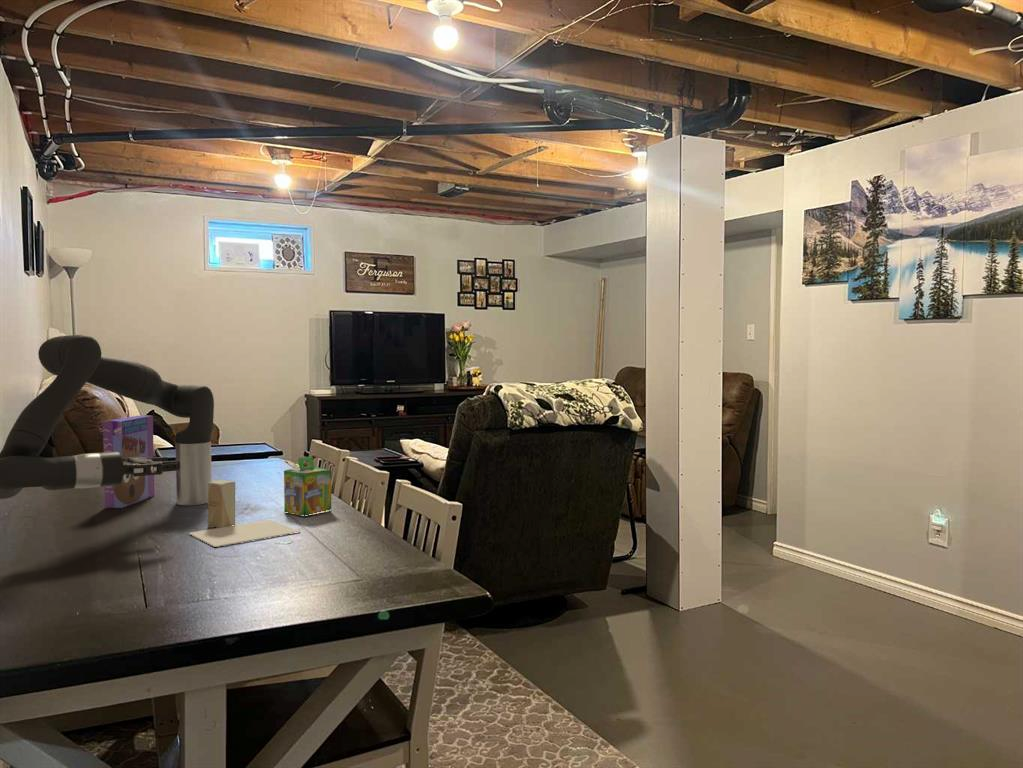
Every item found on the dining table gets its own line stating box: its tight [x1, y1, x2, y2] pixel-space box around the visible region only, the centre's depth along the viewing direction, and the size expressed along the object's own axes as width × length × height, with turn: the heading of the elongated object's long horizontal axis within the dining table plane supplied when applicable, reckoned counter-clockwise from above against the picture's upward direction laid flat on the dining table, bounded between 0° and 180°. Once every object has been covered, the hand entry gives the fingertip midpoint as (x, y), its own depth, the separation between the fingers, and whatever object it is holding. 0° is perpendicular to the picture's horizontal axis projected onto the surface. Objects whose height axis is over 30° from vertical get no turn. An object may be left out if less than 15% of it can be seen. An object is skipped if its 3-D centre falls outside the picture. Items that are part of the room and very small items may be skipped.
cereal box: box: [102, 414, 155, 509], centre depth 210 cm, size 17×5×24 cm, turn 179°
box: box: [207, 479, 236, 529], centre depth 182 cm, size 5×4×11 cm
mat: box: [188, 519, 300, 548], centre depth 175 cm, size 16×20×1 cm
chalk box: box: [283, 455, 332, 517], centre depth 197 cm, size 9×9×15 cm
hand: (173, 463), depth 174 cm, fingers open, 8 cm apart
